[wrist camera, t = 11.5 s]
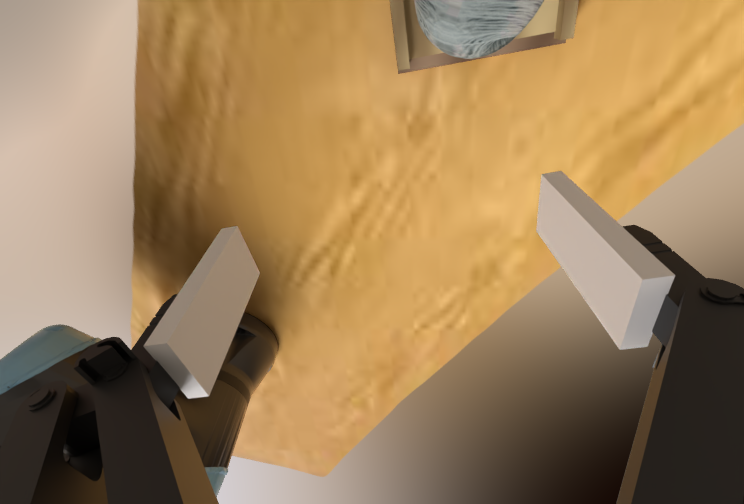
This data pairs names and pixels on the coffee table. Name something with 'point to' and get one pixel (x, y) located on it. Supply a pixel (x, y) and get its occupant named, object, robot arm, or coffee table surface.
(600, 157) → the coffee table surface
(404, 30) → the shallow beige tray
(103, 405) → the robot arm
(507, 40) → the grey streaked ellipsoid
